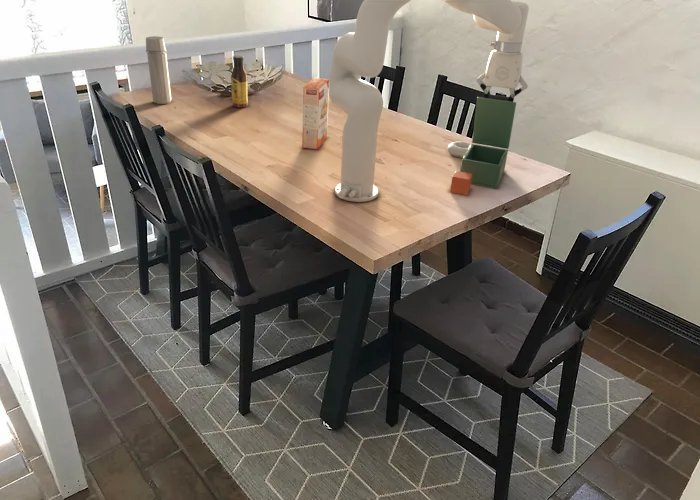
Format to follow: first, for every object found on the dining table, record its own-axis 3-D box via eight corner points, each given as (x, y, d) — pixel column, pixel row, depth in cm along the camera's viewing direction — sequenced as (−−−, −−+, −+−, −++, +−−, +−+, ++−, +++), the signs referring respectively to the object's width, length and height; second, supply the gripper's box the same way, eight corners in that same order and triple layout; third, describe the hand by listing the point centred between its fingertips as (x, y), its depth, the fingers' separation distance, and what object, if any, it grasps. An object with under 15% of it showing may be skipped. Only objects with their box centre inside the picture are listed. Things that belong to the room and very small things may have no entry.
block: (466, 195, 167) (469, 179, 165) (450, 192, 169) (452, 176, 166) (470, 189, 171) (472, 173, 169) (453, 186, 173) (455, 170, 170)
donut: (442, 150, 200) (454, 160, 192) (443, 140, 198) (455, 150, 190) (468, 148, 203) (481, 158, 194) (469, 139, 201) (482, 148, 193)
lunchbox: (496, 188, 173) (500, 166, 169) (458, 181, 176) (462, 159, 172) (504, 171, 185) (508, 149, 182) (468, 164, 189) (472, 143, 185)
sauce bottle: (230, 104, 235) (227, 54, 225) (245, 103, 237) (243, 53, 227) (234, 108, 230) (232, 58, 220) (249, 107, 232) (247, 57, 222)
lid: (515, 103, 170) (519, 94, 173) (477, 98, 173) (481, 88, 177) (508, 149, 181) (511, 139, 185) (472, 143, 185) (475, 133, 188)
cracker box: (318, 150, 194) (320, 88, 183) (301, 148, 195) (301, 86, 184) (328, 137, 206) (330, 78, 195) (312, 135, 206) (313, 76, 196)
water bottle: (152, 100, 235) (144, 36, 222) (172, 99, 237) (165, 36, 225) (152, 106, 227) (144, 40, 215) (173, 105, 230) (166, 40, 217)
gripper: (476, 45, 168) (467, 106, 177) (536, 53, 163) (524, 115, 172) (481, 41, 174) (472, 100, 183) (539, 48, 169) (526, 108, 178)
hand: (497, 107), depth 178 cm, fingers closed on lid, 6 cm apart
